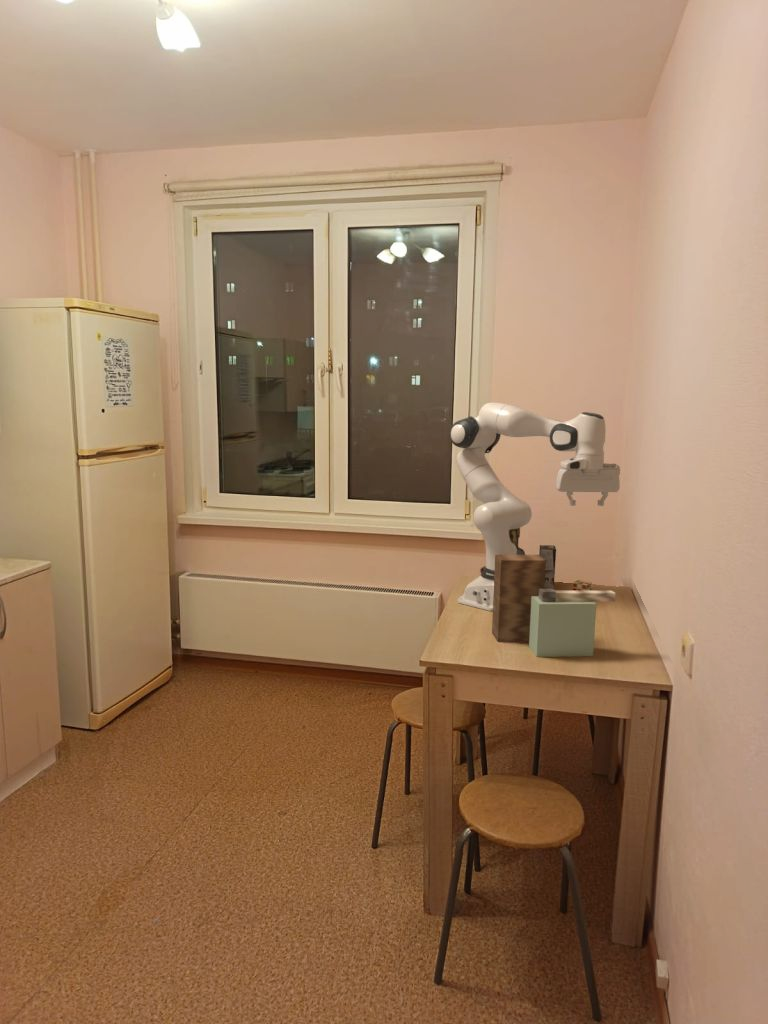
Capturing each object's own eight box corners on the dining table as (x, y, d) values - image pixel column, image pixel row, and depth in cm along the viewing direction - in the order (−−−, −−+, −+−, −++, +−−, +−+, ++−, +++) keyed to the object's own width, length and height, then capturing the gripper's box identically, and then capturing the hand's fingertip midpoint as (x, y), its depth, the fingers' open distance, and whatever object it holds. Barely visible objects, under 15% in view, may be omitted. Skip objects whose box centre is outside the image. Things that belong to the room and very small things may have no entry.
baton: (610, 598, 200) (611, 588, 199) (615, 601, 196) (616, 591, 196) (538, 598, 199) (539, 588, 198) (542, 601, 195) (542, 591, 195)
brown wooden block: (534, 632, 216) (538, 554, 212) (541, 641, 208) (546, 560, 204) (491, 633, 215) (495, 554, 211) (497, 641, 208) (501, 560, 204)
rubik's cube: (577, 593, 264) (578, 580, 263) (590, 595, 261) (591, 582, 260) (571, 596, 260) (572, 582, 259) (585, 599, 257) (586, 585, 256)
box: (583, 646, 204) (586, 596, 202) (593, 656, 196) (596, 603, 194) (528, 647, 203) (531, 596, 201) (536, 656, 195) (539, 604, 193)
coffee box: (554, 588, 271) (556, 549, 268) (538, 587, 272) (540, 548, 270) (553, 582, 280) (555, 545, 277) (537, 581, 281) (539, 544, 278)
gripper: (616, 462, 219) (613, 504, 221) (555, 462, 217) (553, 504, 219) (624, 464, 212) (621, 507, 215) (561, 463, 211) (559, 506, 213)
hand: (586, 505), depth 217 cm, fingers open, 8 cm apart
